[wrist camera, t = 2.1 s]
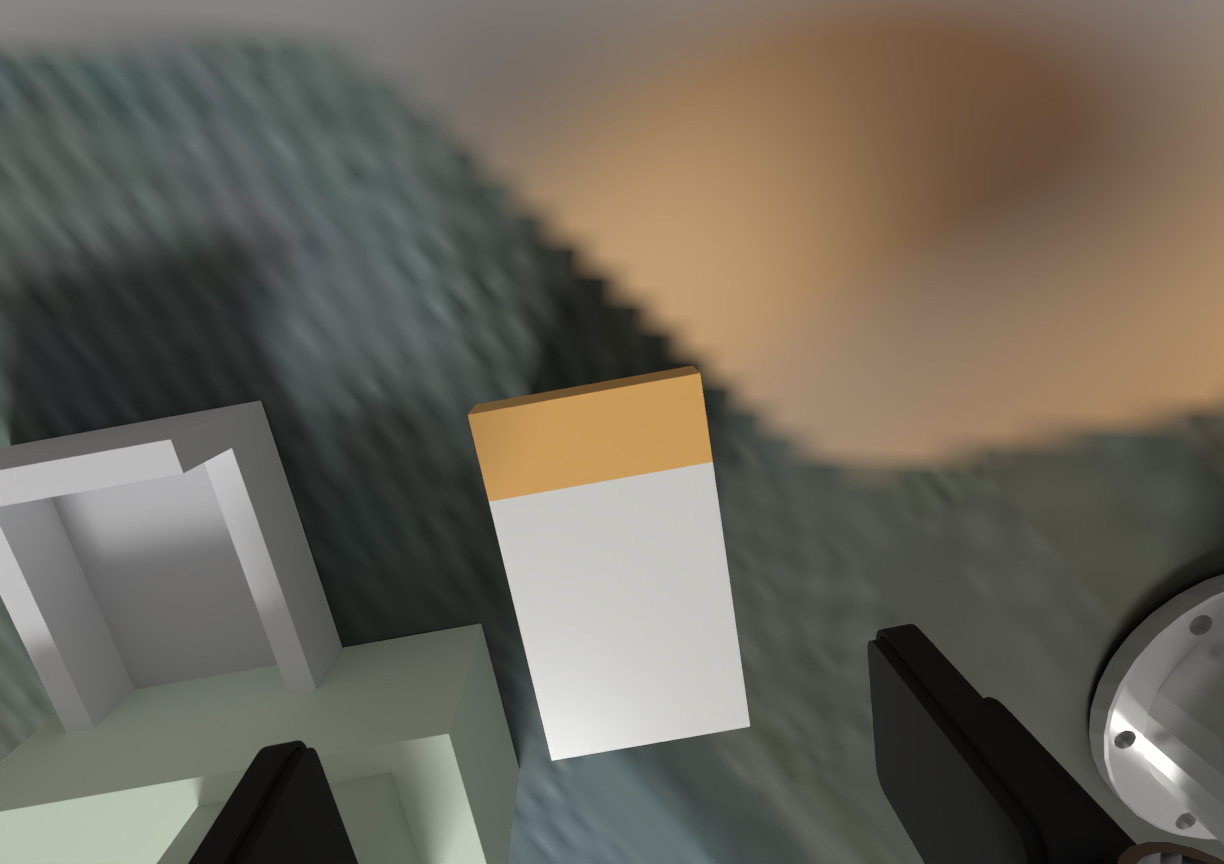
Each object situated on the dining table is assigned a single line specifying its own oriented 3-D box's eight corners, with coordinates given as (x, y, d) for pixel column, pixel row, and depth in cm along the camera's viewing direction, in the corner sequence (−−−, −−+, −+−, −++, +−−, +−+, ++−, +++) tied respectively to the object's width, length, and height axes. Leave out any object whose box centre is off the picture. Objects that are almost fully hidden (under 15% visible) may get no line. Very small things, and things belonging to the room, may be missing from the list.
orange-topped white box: (657, 328, 22) (700, 373, 14) (693, 561, 25) (749, 726, 16) (515, 354, 22) (467, 415, 14) (565, 583, 25) (551, 760, 16)
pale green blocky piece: (415, 372, 22) (283, 458, 13) (519, 769, 27) (480, 1058, 17) (-33, 453, 22) (-500, 599, 13) (144, 834, 27) (-104, 1156, 17)
